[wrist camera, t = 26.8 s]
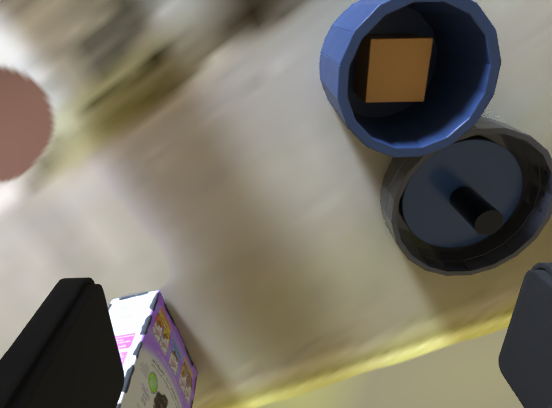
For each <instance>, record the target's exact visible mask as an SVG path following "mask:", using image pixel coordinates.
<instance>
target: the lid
mask: <svg viewBox="0 0 552 408" xmlns="http://www.w3.org/2000/svg"><path fill="white" fill-rule="evenodd" d="M522 184H523V180H522V172H521V168H520V166H519V164H518V161H517V160H516V158H515V157H514V156H513V154H512V153H511V152H510V151H509V150H507V149H506V148H504V147H503V146H501V145H499V144H497V143H496V142H493V141H490V140H486V139H481V138H467V139H462V140H459V141H456V142H454V143H453V144H451V145H450V146H447V147H445V148H443V149H441V150H440V151H438V152H437V153H435V154H434V155H432V156H431V157H429V158H428V159H427V160H426V161H425V162H424V163H423V164H422V165H421V167H420V168H419V169H418V170H417V171H416V172H415V173H414V174H413V175H412V176H411V178H410V179H409V182H408V184H407V186H406V188H405V190H404V192H403V194H402V197H401V211H402V215H403V218H404V221H405V223H406V225H407V226H408V228H409V229H410V231H411V232H412V233H413V234H414V235H415V236H416V237H417V238H419V239H420V240H422V241H423V242H425V243H428V244H430V245H433V246H437V247H443V248H455V247H462V246H467V245H470V244H473V243H476V242H478V241H481V240H483V239H484V238H486V237H488V236H489V235H491V234H493V233H495V232H496V231H498V230H499V229H500V228H501V226H502V225H503V224H504V223H505V222H506V221H507V220H508V219H509V217H510V216H511V215H512V213H513V211H514V210H515V208H516V206H517V204H518V202H519V199H520V196H521V192H522Z"/></svg>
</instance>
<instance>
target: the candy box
mask: <svg viewBox="0 0 552 408" xmlns="http://www.w3.org/2000/svg"><path fill="white" fill-rule="evenodd" d="M108 311H109V314H110V318H111V322H112V326H113V330H114V334H115V338H116V342H117V346H118V350H119V353H120V357H121V361H122V365H123V369H124V386H123V390H122V392H121V395H120V398H119V401H118V404H117V406H116V408H192V404H193V399H194V393H195V386H196V380H197V371H196V369H195V366H194V364H193V362H192V360H191V358H190V356H189V353H188V351H187V349H186V347H185V345H184V343H183V341H182V338H181V336H180V334H179V332H178V330H177V328H176V326H175V323H174V321H173V319H172V317H171V315H170V313H169V311H168V309H167V307H166V304H165V302H164V300H163V297H162V295H161V293H160V291H159V290H158V291H153V292H147V293H143V294H139V295H133V296H128V297H122V298H118V299H114V300H112V301H111V303H110V305H109V307H108Z"/></svg>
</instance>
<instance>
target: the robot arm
mask: <svg viewBox="0 0 552 408" xmlns="http://www.w3.org/2000/svg"><path fill="white" fill-rule="evenodd" d="M499 367H500V370H501V373H502V374H503V376H504V378H505V379H506V381H507V382H508V384H509V385H510V387H511V388H512V390H513V391H514V393H515V394H516V396H517V397H518V399H519V400H520V402H521V403H522V405H523V407H524V408H552V263H538V264H536V265H534V266H533V268H532V270H529V271H528V272H527V273H526V274H525V277H524V280H523V283H522V286H521V289H520V293H519V296H518V299H517V302H516V305H515V308H514V311H513V314H512V318H511V321H510V324H509V327H508V330H507V333H506V336H505V340H504V343H503V346H502V349H501V352H500V355H499ZM123 386H124V369H123V365H122V361H121V357H120V353H119V350H118V346H117V342H116V338H115V334H114V330H113V326H112V322H111V318H110V314H109V311H108V307H107V303H106V299H105V295H104V291H103V288H102V286H101V285H100V284H95V283H94V281H93V280H92V278H64V279H61V280H60V281H59V282H58V283H57V284H56V286H55V287H54V288H53V290H52V291H51V292H50V294H49V295H48V296H47V298H46V299H45V301H44V302H43V303H42V305H41V306H40V307H39V309H38V310H37V311H36V313H35V314H34V316H33V317H32V318H31V320H30V321H29V322H28V324H27V325H26V326H25V328H24V329H23V331H22V332H21V333H20V335H19V336H18V337H17V339H16V340H15V341H14V343H13V344H12V346H11V347H10V348H9V350H8V351H7V352H6V353H5V354H4V356H3V357H2V358H1V360H0V408H116V406H117V404H118V401H119V398H120V395H121V392H122V390H123Z"/></svg>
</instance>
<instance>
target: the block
mask: <svg viewBox="0 0 552 408" xmlns="http://www.w3.org/2000/svg"><path fill="white" fill-rule="evenodd" d="M432 44H433V38H432V37H426V36H421V35H415V34H373V35H366V36H365V37H364V38H363V39H362V41H361V43H360V45H359V47H358V49H357V52H356V59H355V74H354V88H353V92H355V93H356V94H357V95H358V96H359V97H360V98H361V99H362V100H363V101H364V102H366V103H377V102H423V101H424V97H425V91H426V84H427V77H428V71H429V64H430V57H431V50H432Z"/></svg>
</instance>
